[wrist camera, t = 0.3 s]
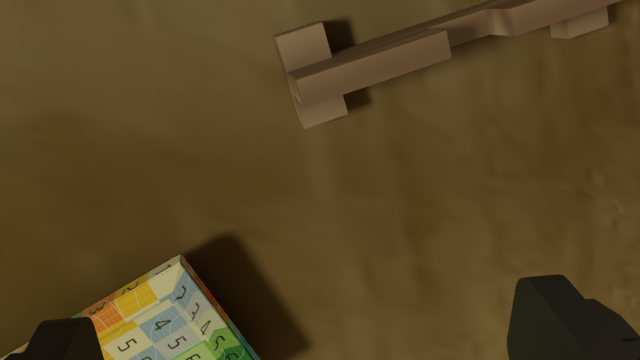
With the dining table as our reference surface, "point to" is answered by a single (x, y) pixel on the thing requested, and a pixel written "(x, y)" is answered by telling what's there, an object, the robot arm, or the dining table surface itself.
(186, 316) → the puzzle game
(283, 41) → the slotted rail
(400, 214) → the dining table surface
